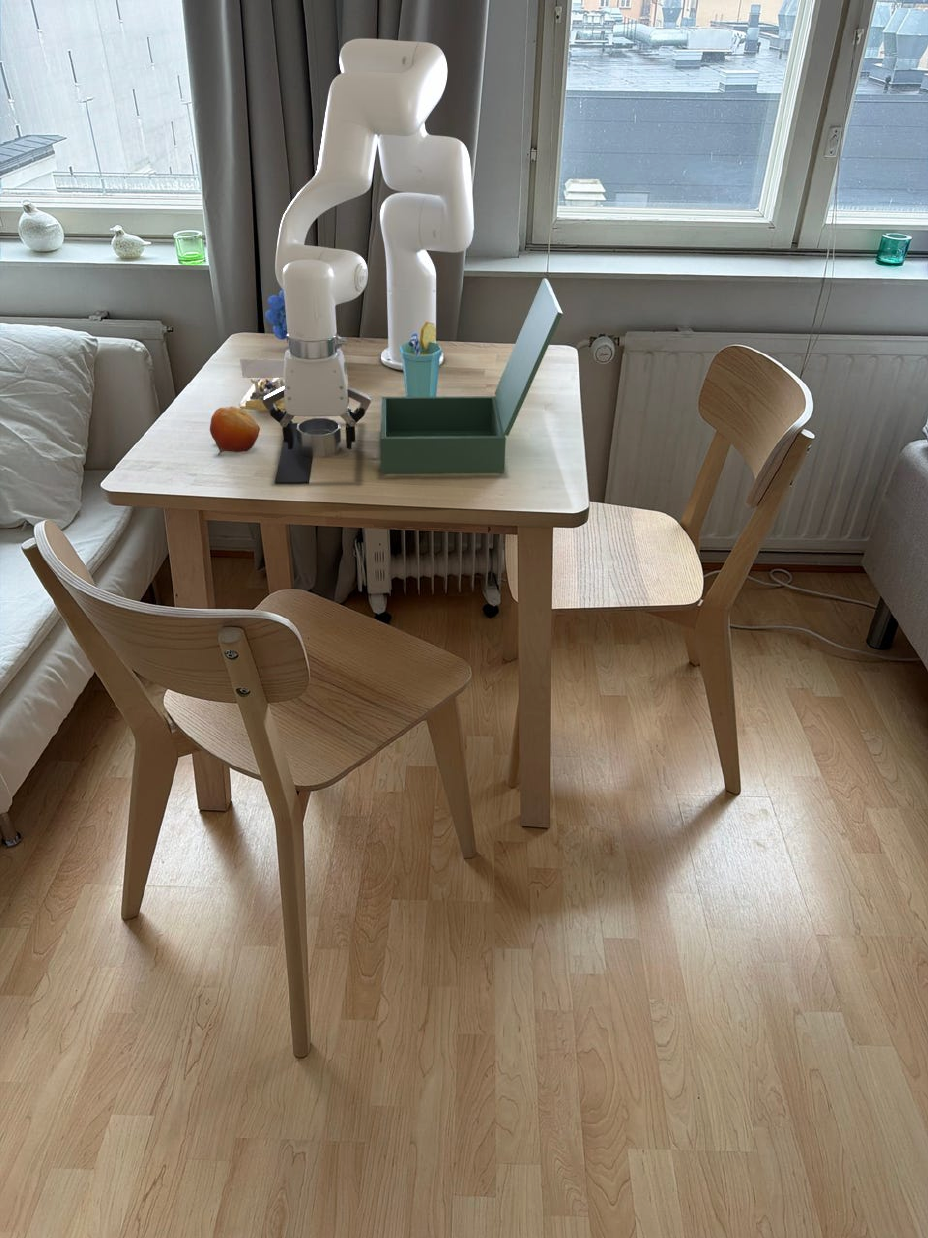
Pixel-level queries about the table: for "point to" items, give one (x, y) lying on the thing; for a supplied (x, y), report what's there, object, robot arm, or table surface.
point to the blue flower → (278, 315)
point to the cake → (262, 382)
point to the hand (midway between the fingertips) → (320, 445)
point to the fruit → (233, 429)
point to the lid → (527, 355)
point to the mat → (293, 464)
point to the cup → (421, 363)
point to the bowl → (319, 437)
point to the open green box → (441, 435)
